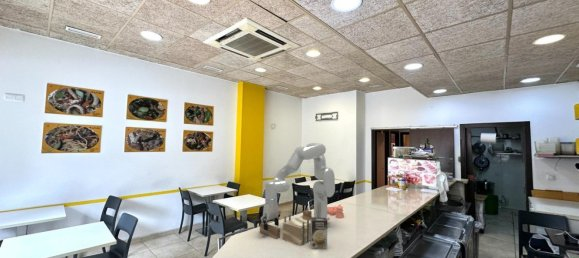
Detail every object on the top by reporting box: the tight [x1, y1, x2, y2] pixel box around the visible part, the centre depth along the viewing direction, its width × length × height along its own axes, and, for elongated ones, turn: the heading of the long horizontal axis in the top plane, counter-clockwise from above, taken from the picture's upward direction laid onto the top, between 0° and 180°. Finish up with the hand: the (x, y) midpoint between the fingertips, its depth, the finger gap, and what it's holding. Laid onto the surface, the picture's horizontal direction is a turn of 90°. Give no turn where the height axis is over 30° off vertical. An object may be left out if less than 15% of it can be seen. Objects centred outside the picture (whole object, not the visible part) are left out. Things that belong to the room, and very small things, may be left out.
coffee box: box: [309, 216, 329, 250], centre depth 139 cm, size 9×6×16 cm
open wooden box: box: [282, 214, 310, 247], centre depth 152 cm, size 20×15×13 cm
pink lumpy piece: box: [327, 204, 345, 219], centre depth 200 cm, size 18×10×10 cm, turn 18°
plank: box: [259, 222, 281, 240], centre depth 155 cm, size 3×16×6 cm, turn 49°
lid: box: [286, 209, 313, 229], centre depth 152 cm, size 17×13×6 cm
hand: (271, 227), depth 155 cm, fingers open, 9 cm apart
